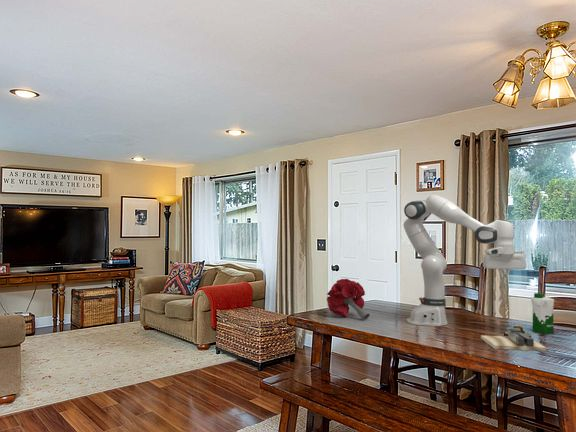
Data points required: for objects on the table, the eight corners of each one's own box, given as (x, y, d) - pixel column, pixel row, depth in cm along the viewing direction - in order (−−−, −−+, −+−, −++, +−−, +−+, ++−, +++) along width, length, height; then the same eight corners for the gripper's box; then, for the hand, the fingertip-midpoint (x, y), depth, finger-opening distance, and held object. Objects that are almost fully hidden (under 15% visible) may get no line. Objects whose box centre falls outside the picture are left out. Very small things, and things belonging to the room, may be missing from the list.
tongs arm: (508, 338, 199) (508, 331, 199) (514, 338, 198) (514, 332, 198) (518, 345, 186) (518, 338, 186) (524, 345, 185) (524, 338, 186)
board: (494, 348, 187) (494, 345, 187) (480, 338, 204) (480, 335, 204) (546, 351, 184) (546, 347, 184) (528, 340, 202) (528, 337, 202)
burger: (499, 335, 212) (499, 320, 212) (513, 333, 217) (513, 318, 218) (522, 341, 201) (522, 325, 201) (536, 338, 207) (536, 323, 207)
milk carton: (539, 329, 224) (539, 292, 225) (556, 333, 216) (556, 295, 217) (529, 331, 220) (529, 293, 221) (546, 335, 212) (546, 296, 213)
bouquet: (371, 327, 254) (339, 298, 273) (385, 297, 245) (351, 268, 264) (348, 335, 240) (316, 303, 260) (362, 303, 231) (328, 273, 251)
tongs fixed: (505, 336, 202) (505, 327, 202) (517, 337, 201) (517, 327, 201) (520, 346, 186) (520, 335, 186) (533, 346, 185) (533, 336, 185)
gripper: (522, 250, 216) (523, 277, 216) (481, 250, 219) (481, 276, 218) (528, 251, 210) (528, 278, 209) (485, 250, 212) (485, 277, 212)
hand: (504, 277), depth 214 cm, fingers closed
